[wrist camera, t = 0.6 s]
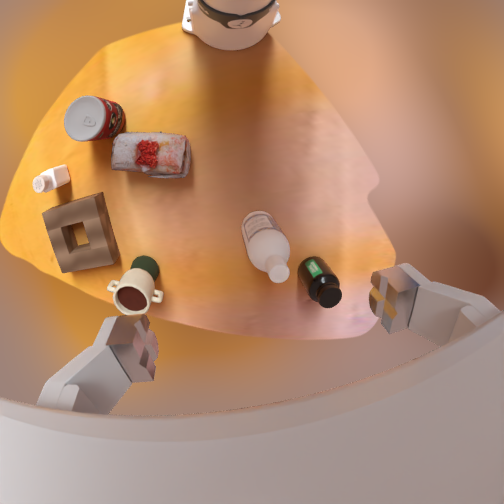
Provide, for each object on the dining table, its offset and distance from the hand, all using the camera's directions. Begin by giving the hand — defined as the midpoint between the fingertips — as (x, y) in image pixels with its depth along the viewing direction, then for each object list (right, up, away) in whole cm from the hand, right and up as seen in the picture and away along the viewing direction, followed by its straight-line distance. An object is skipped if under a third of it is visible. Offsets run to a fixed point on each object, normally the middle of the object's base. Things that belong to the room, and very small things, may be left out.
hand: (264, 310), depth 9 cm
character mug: (-23, -1, +47) cm, 52 cm away
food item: (-18, +21, +37) cm, 47 cm away
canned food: (-28, +27, +33) cm, 51 cm away
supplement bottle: (+13, -2, +52) cm, 54 cm away
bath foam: (+1, +7, +46) cm, 47 cm away
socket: (-36, +7, +41) cm, 55 cm away
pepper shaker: (-40, +18, +36) cm, 56 cm away
